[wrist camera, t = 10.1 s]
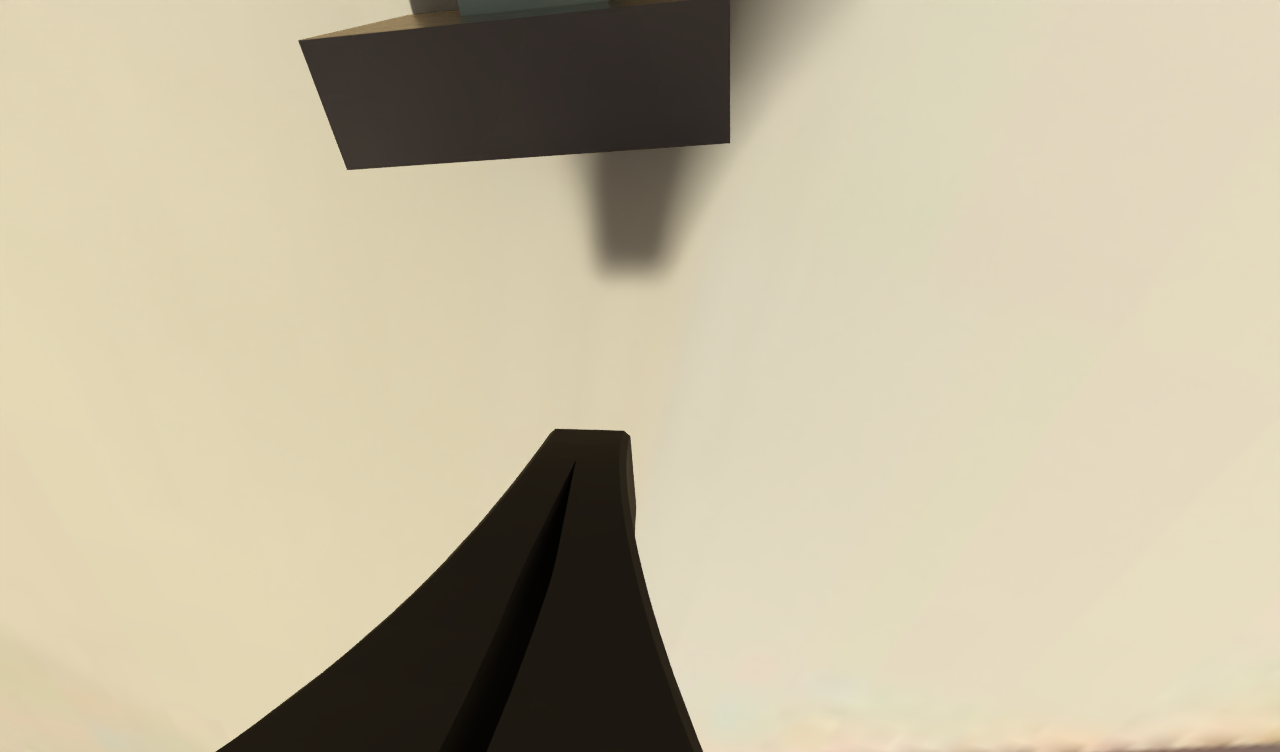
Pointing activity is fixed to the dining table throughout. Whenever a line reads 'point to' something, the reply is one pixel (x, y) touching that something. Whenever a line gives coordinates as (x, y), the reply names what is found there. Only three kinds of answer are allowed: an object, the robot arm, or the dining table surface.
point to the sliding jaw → (526, 80)
